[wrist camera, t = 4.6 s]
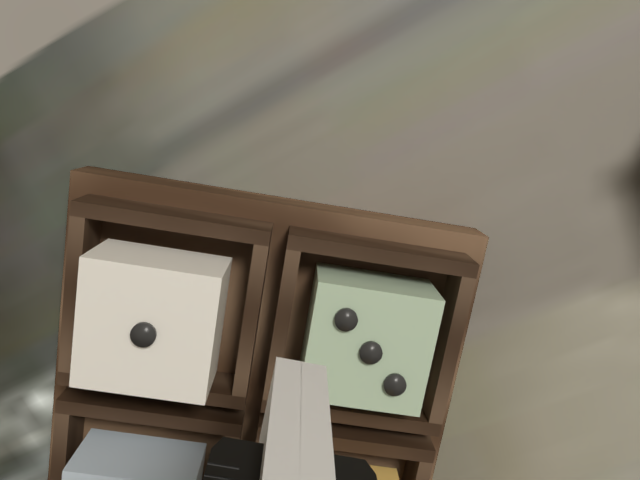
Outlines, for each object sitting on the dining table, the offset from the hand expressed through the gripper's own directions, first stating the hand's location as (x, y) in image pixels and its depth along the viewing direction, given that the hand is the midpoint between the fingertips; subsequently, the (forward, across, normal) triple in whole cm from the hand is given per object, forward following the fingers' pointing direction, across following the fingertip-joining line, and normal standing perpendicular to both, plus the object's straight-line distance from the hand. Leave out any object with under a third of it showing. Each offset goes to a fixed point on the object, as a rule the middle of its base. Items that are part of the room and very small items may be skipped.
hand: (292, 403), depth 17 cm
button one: (+7, +5, +1) cm, 9 cm away
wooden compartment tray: (+11, +1, +5) cm, 12 cm away
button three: (+8, -3, 0) cm, 9 cm away
